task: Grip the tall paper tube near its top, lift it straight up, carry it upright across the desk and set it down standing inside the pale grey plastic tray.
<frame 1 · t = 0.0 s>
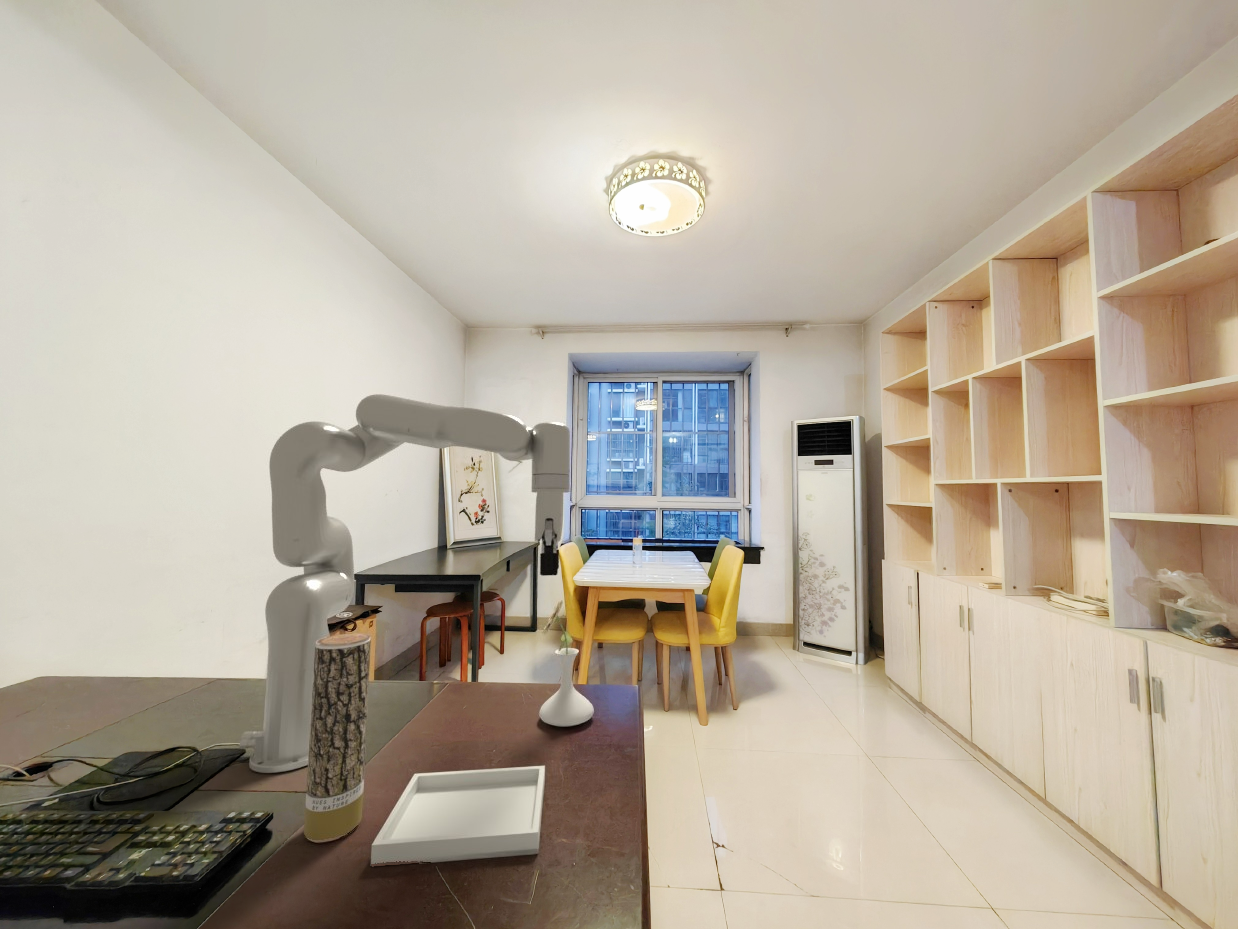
hand: (549, 572, 92), 31 cm above the table, tool pointing down, fingers open, 9 cm apart
paper tube: (333, 830, 64), on the table
tray: (469, 819, 66), on the table
flower in vase: (564, 722, 97), on the table
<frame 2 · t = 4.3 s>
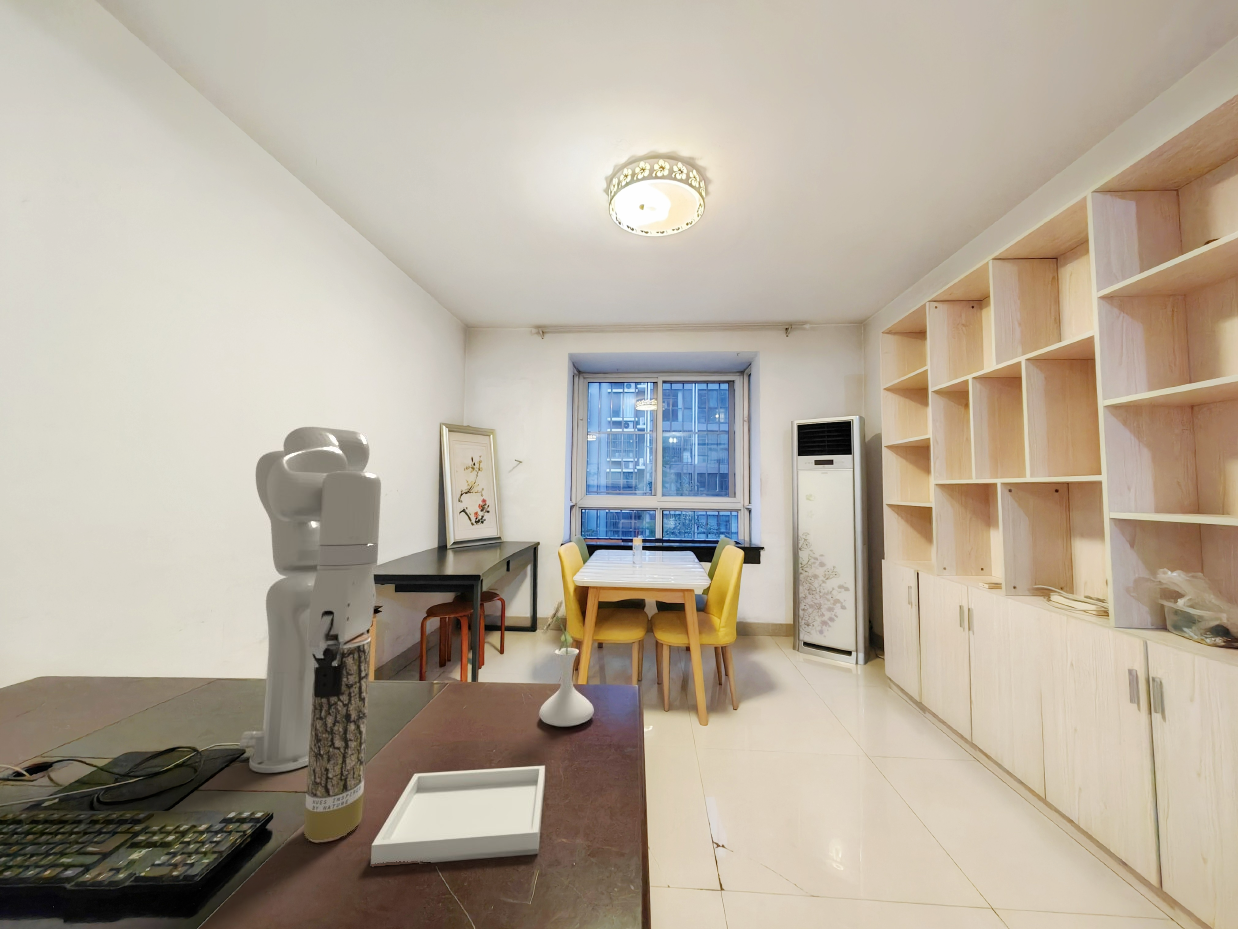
hand: (341, 685, 66), 19 cm above the table, tool pointing down, fingers closed on paper tube, 6 cm apart
paper tube: (333, 830, 64), on the table, touching gripper
everything else where it was.
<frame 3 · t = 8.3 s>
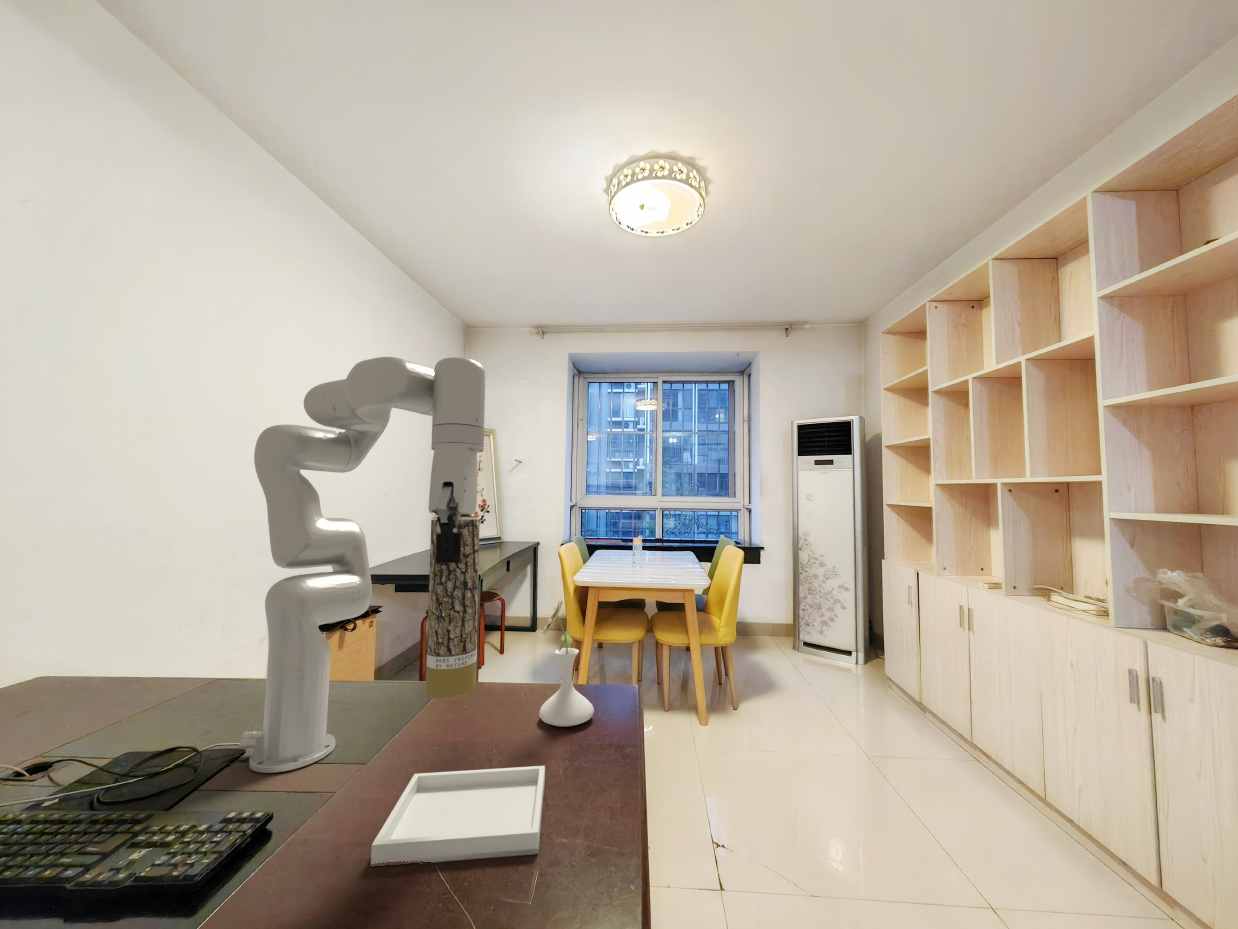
hand: (454, 559, 69), 36 cm above the table, tool pointing down, fingers closed on paper tube, 6 cm apart
paper tube: (451, 693, 67), point 17 cm above the table, touching gripper
everything else where it was.
when the fingers open (21 cm above the table, at t = 12.8 s): paper tube drops 2 cm, resting on tray.
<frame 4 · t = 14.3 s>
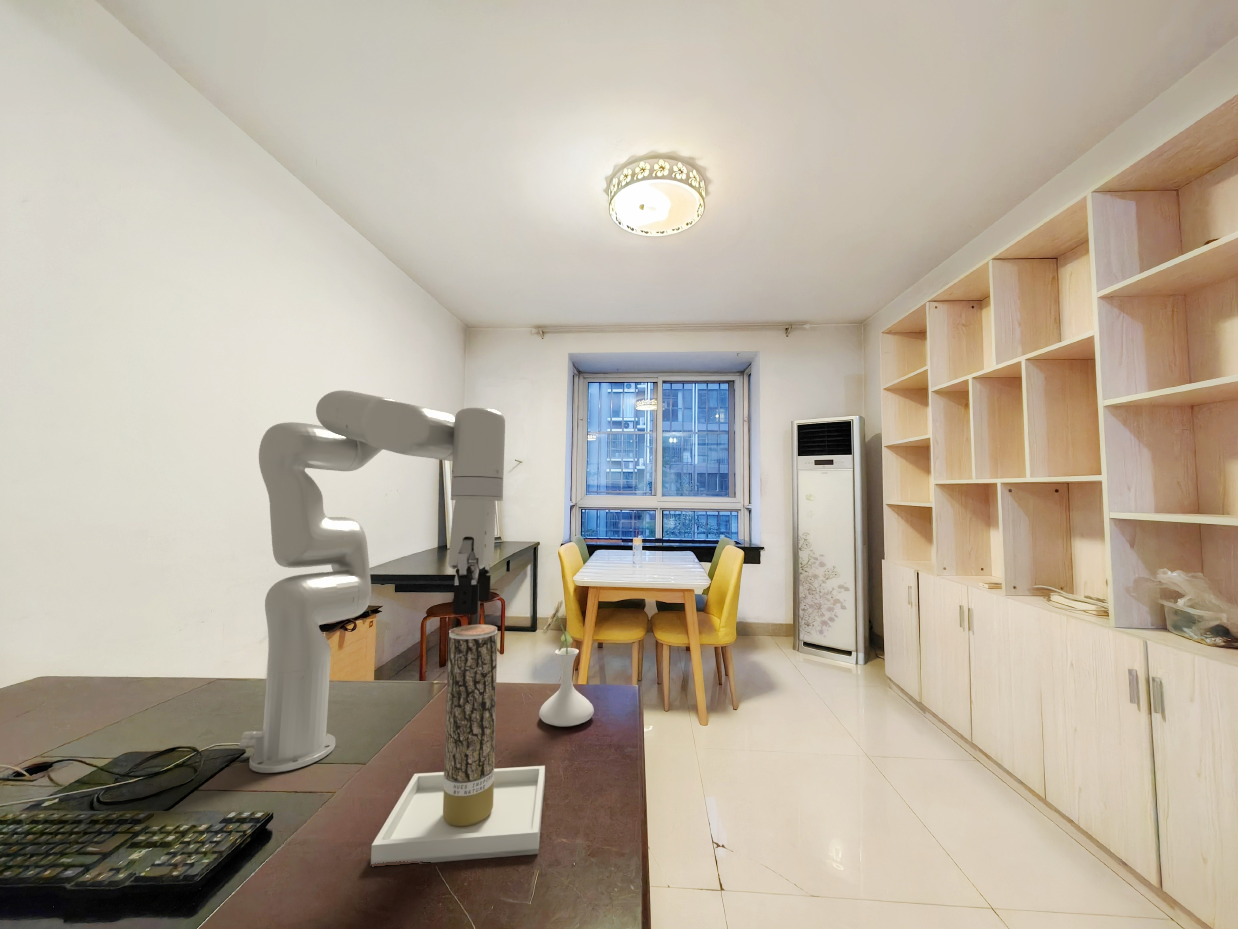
hand: (472, 607, 69), 29 cm above the table, tool pointing down, fingers open, 9 cm apart
paper tube: (468, 815, 66), resting on tray
everything else where it was.
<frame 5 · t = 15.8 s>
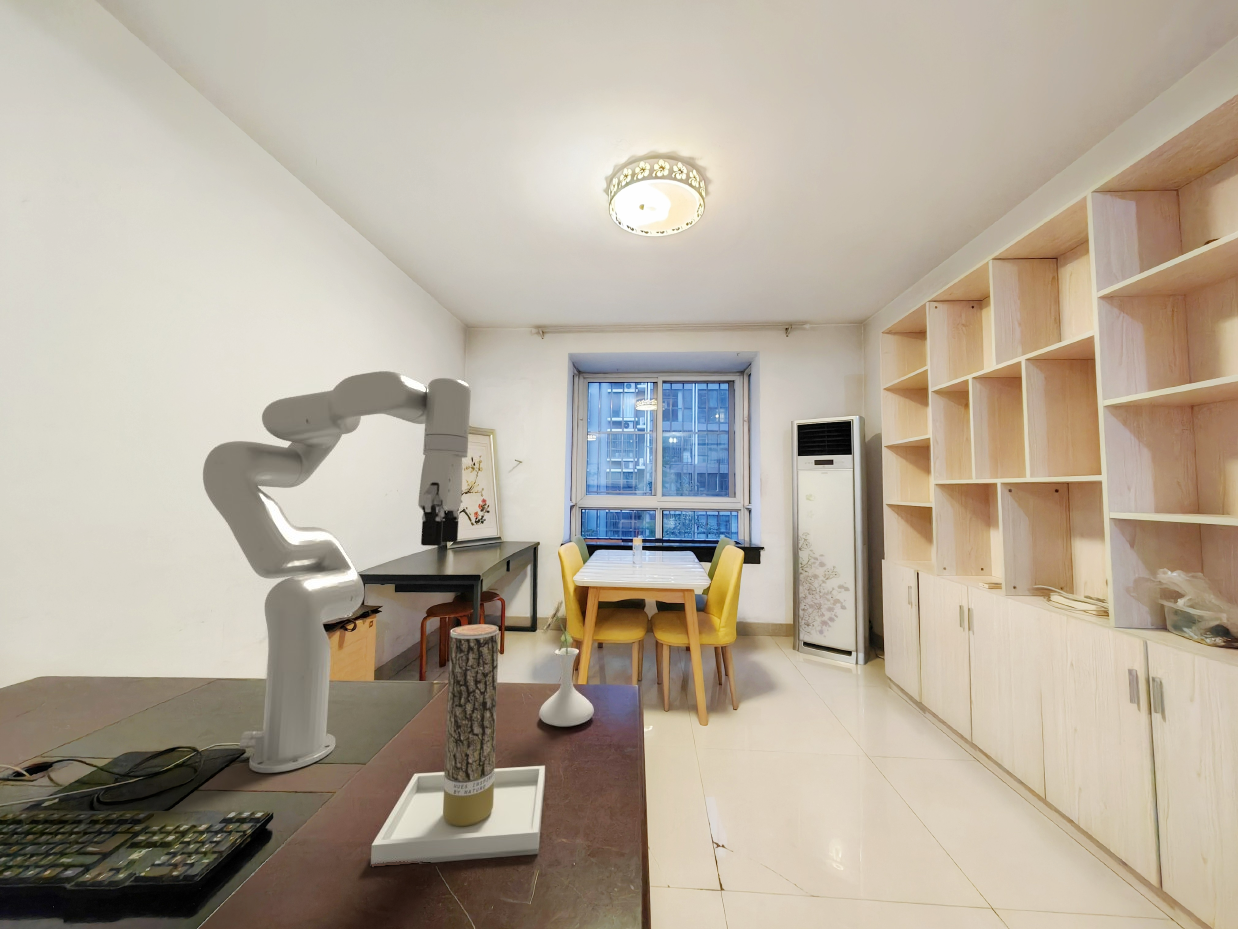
hand: (440, 543, 83), 37 cm above the table, tool pointing down, fingers open, 9 cm apart
nothing on the table moved.
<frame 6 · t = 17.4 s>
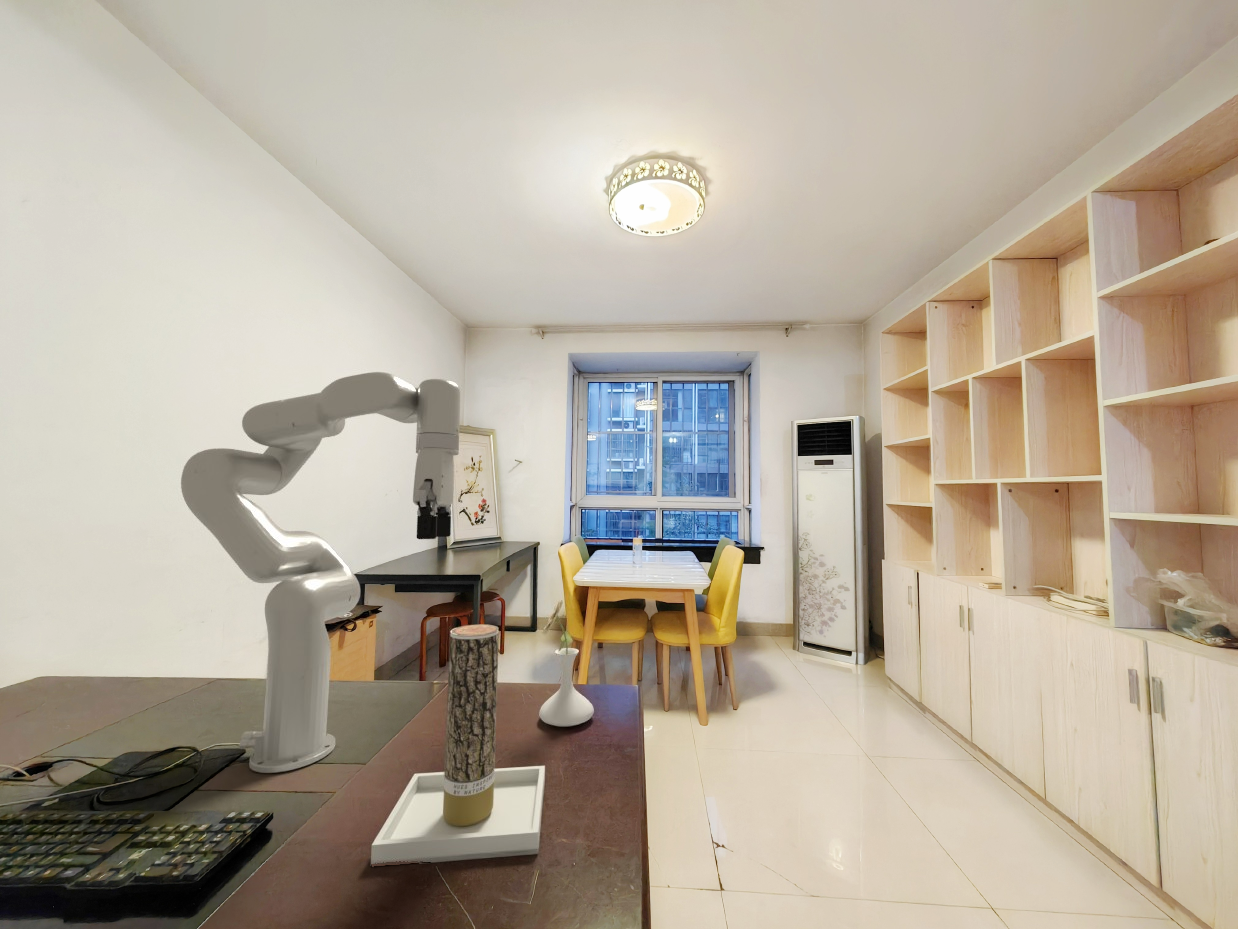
hand: (434, 537, 87), 38 cm above the table, tool pointing down, fingers open, 9 cm apart
nothing on the table moved.
at the end: paper tube inside the target area on the tray (0.3 cm from its centre), point 0.4 cm above the tray's base; paper tube tilted 1°; the gripper is holding nothing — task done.
